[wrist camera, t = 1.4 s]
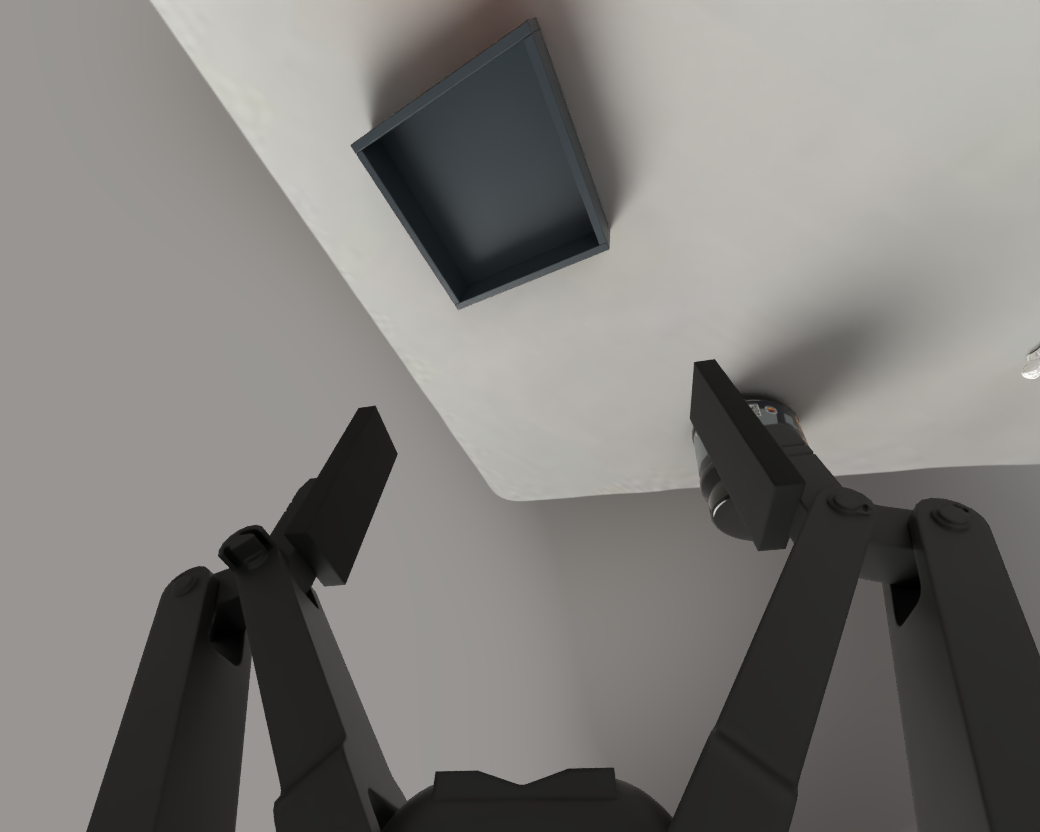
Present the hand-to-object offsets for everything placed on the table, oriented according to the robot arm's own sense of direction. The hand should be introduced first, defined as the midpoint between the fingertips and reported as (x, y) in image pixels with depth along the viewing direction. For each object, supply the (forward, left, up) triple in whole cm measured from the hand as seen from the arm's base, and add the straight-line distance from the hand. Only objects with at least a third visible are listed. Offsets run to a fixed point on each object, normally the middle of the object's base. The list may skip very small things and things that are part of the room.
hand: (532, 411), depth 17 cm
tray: (-4, -5, -23) cm, 24 cm away
